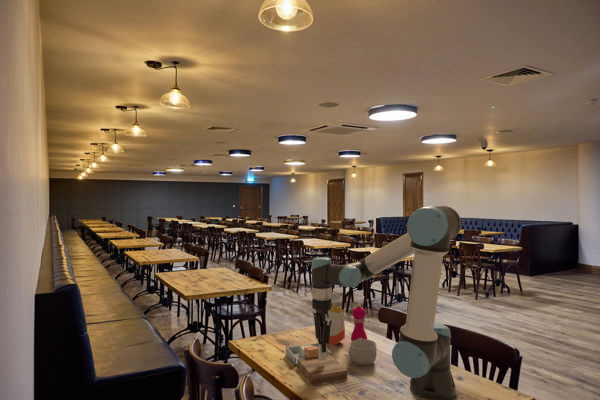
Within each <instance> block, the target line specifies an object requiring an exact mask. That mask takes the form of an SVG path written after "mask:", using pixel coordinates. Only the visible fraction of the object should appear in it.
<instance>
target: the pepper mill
mask: <svg viewBox="0 0 600 400" xmlns="http://www.w3.org/2000/svg"><path fill="white" fill-rule="evenodd" d="M351 311H352V312H351V313H352V317H353V322H354V328H353V331H352V333H351V334H350V335H351V336H350V340H351V341H350V342H352V341H354V340H359V338H362V339H367V340H368V336H367V333H366V331H365V326H364V323H365V320H366V318H365V317H366V315H367V312H366V309H365V308H364V307H362V304H361V303H357V304H356V307H354V308H353V309H352V310H351Z"/></svg>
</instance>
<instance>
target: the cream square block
mask: <svg viewBox="0 0 600 400" xmlns="http://www.w3.org/2000/svg"><path fill="white" fill-rule="evenodd" d="M309 346H312V345H309ZM309 346H301V347H300V354H301V355H302V356H303V357H304V358H308V357H307V356H306V355H304V347H309Z"/></svg>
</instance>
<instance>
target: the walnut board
mask: <svg viewBox="0 0 600 400" xmlns="http://www.w3.org/2000/svg"><path fill="white" fill-rule="evenodd" d="M297 368H298V369H299V370H300V372H301V373H302V374H303V375H304V376H305V378H306V379H307V380H308V381H309V383H310V384H311V385H316V384H323V383H328V382H333V381H335V382H336V381H340V380H347V379H348V369H347V368H345V367H344V366H343V365H342V364H341V363H340V362H339V361H338V360H337V359H336V358H335V357H333V355H332V356H331V355H327V360H323V361H320V360H319V356H318V357H311V358H301V359H298V366H297Z"/></svg>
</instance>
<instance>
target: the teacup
mask: <svg viewBox="0 0 600 400" xmlns="http://www.w3.org/2000/svg"><path fill="white" fill-rule="evenodd" d="M348 346H349V353H350V358H351V361H352V362H354V363H355V364H356V365H357V366H362V367H363V366H364V367H367V366H370V365H372V364H373V363H374V362H375V361H376V360H377V359H376V358H377V342H375V341H374V340H371V339H368V338H367V339H362V338H359V340H354V341H350V342H349V345H348Z"/></svg>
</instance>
